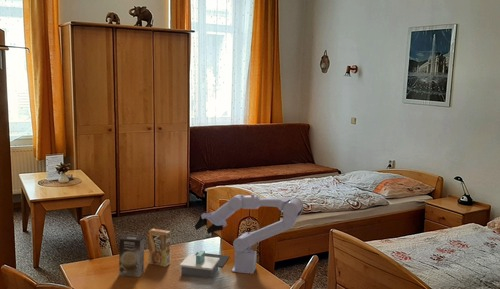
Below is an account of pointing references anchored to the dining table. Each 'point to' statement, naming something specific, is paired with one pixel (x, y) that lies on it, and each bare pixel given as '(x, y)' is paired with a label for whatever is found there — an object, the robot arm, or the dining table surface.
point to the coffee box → (131, 255)
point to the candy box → (159, 247)
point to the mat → (222, 257)
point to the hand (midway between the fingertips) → (201, 229)
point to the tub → (198, 272)
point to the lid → (200, 261)
